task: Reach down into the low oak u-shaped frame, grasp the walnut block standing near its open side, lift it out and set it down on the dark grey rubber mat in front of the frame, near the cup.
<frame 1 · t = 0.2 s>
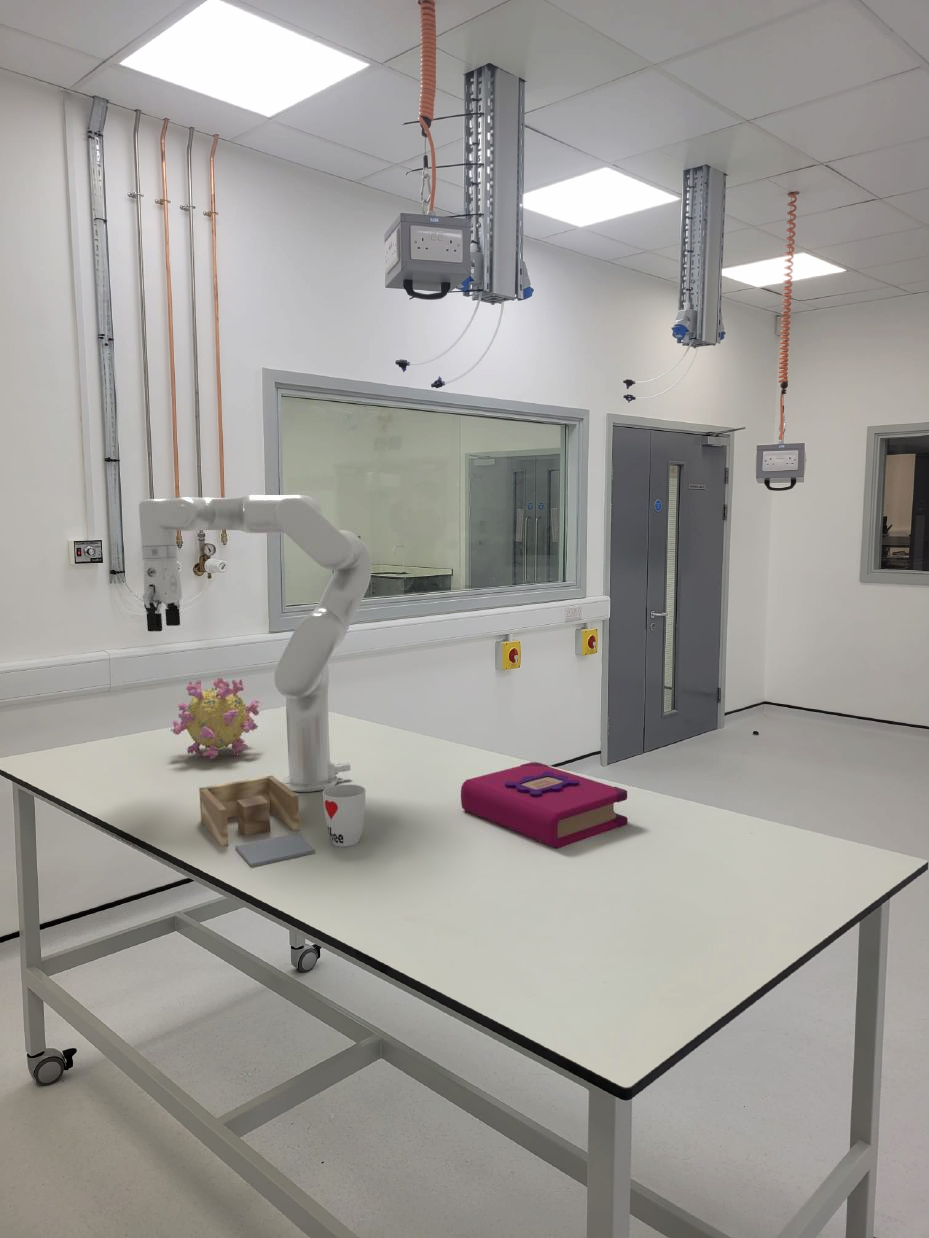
hand: (164, 628, 200), 37 cm above the table, tool pointing down, fingers open, 9 cm apart
book: (543, 820, 177), on the table
oak u-shaped frame: (249, 825, 176), on the table
mat: (275, 850, 162), on the table
educational model: (219, 755, 229), on the table
cup: (346, 842, 166), on the table
block: (254, 830, 173), on the table
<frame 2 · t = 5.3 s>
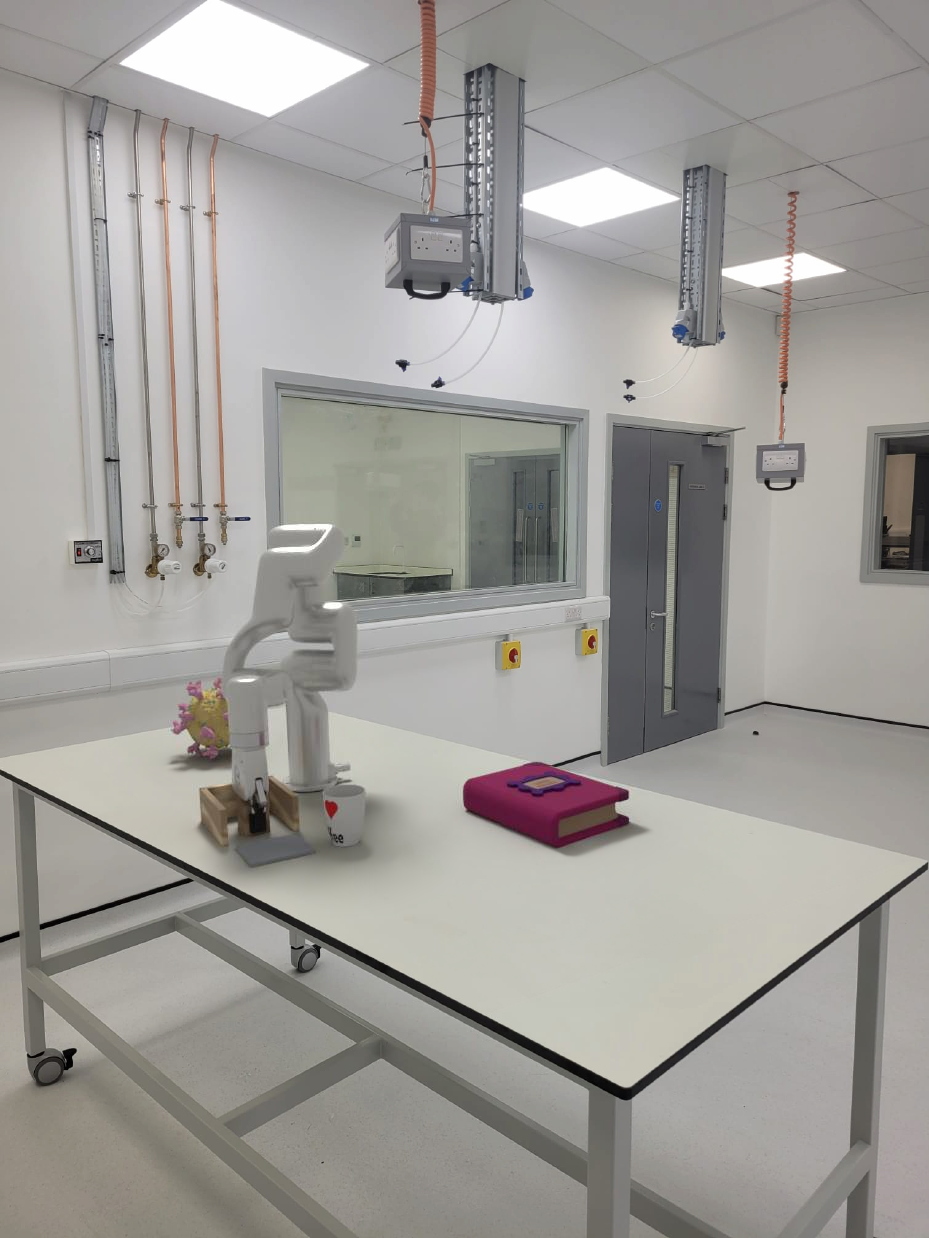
hand: (253, 826, 173), 1 cm above the table, tool pointing down, fingers closed on block, 5 cm apart
block: (254, 830, 173), on the table, touching gripper
everything else where it was.
when the fingers open (2 cm above the table, at t = 11.4 s): block drops 1 cm, resting on mat.
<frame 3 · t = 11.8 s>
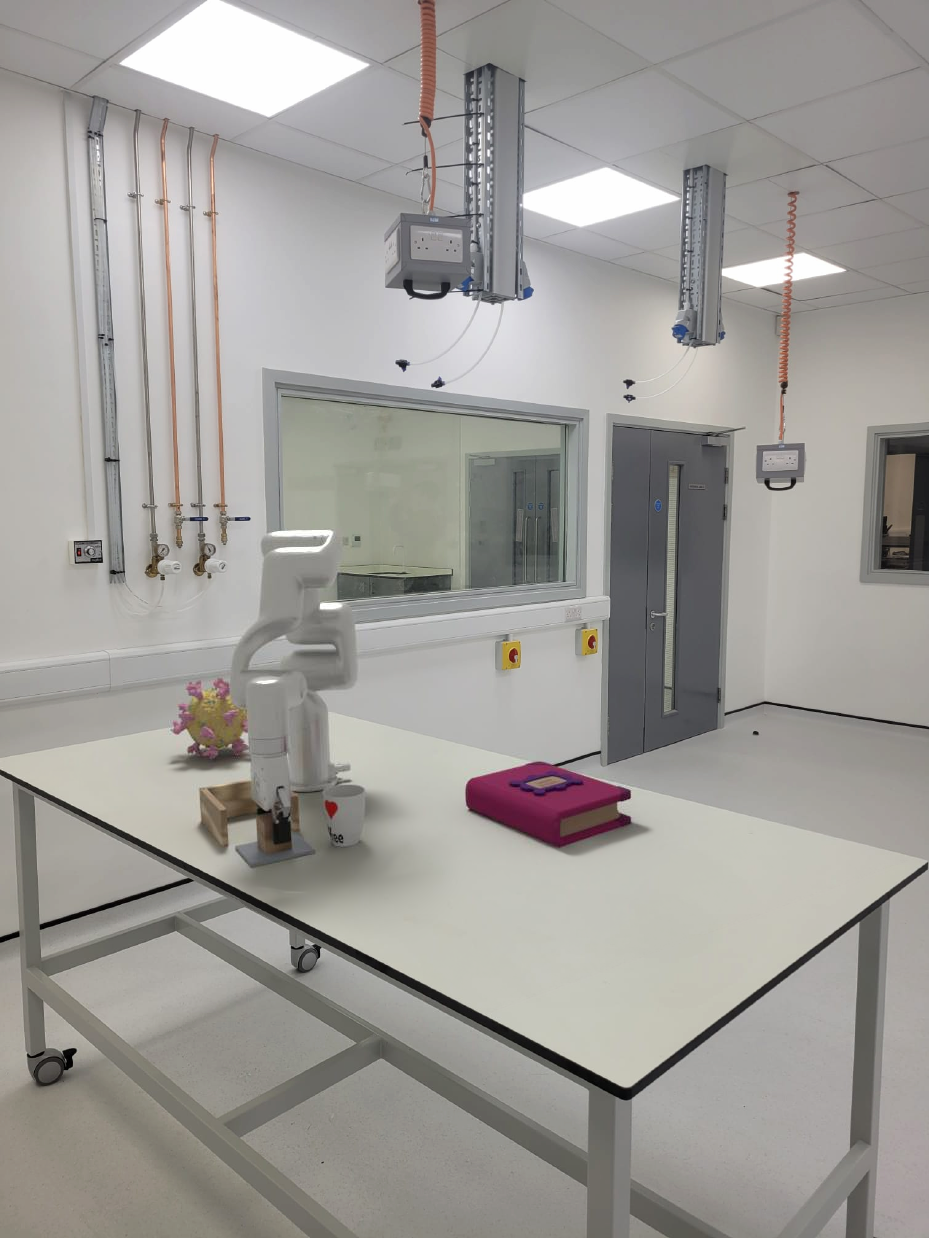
hand: (274, 834, 162), 3 cm above the table, tool pointing down, fingers open, 8 cm apart
block: (274, 847, 162), point 1 cm above the table, touching mat
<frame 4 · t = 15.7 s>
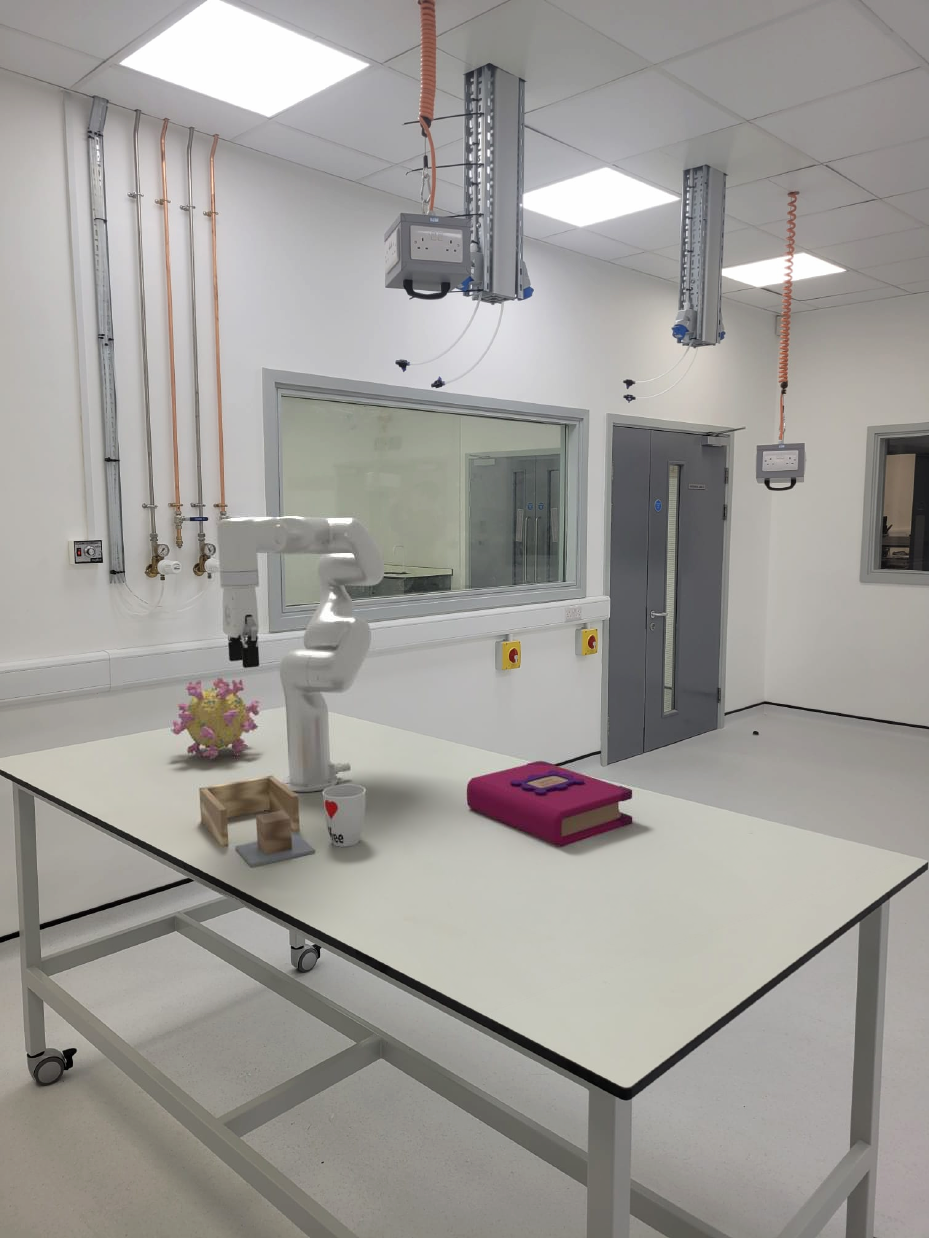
hand: (244, 663, 177), 32 cm above the table, tool pointing down, fingers open, 9 cm apart
at the end: block inside the target area on the mat (0.0 cm from its centre), point 0.6 cm above the mat's base; block tilted 0°; the gripper is holding nothing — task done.
